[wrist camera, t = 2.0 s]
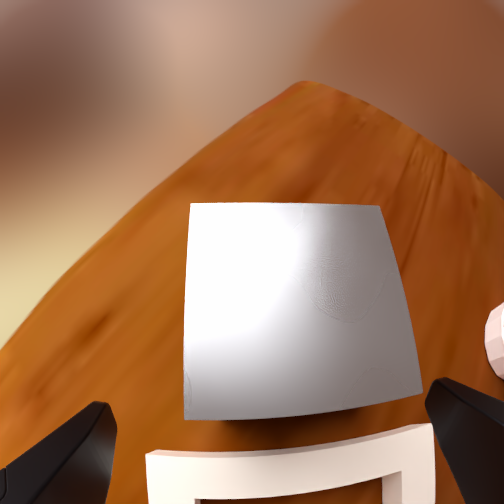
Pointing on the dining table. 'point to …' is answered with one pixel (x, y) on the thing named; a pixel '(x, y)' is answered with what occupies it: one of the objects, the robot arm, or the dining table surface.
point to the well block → (300, 469)
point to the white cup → (495, 340)
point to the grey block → (293, 312)
